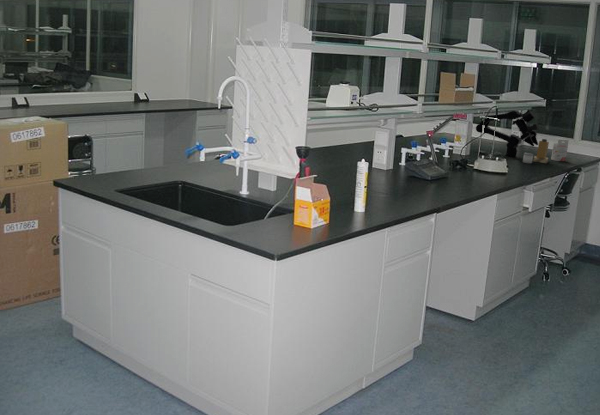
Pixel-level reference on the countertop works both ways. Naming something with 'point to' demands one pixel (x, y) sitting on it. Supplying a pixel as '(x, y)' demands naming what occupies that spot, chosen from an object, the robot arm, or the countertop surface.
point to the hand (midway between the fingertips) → (535, 145)
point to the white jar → (528, 157)
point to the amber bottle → (542, 149)
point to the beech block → (540, 160)
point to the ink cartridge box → (559, 150)
